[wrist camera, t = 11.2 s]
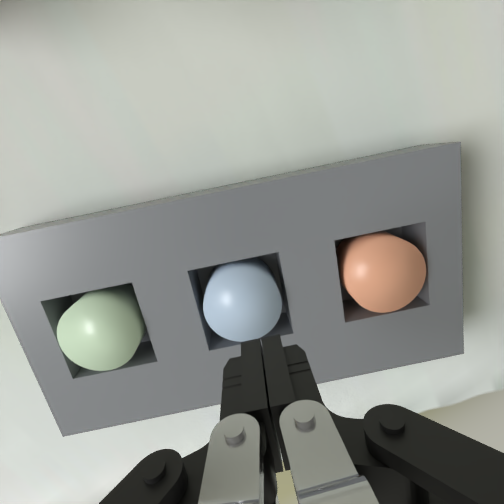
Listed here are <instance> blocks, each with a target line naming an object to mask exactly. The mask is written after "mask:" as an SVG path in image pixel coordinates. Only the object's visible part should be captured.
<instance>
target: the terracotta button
mask: <svg viewBox="0 0 504 504" xmlns="http://www.w3.org/2000/svg"><path fill="white" fill-rule="evenodd" d="M336 257H337V265H338V273H339V280H340V284H341V285H342V286H343V287H344V288H345V289H346V290H347V292H348V293H349V294H350V295H351V296H352V297H353V298H354V300H355V301H356V302H357V303H358V304H359V305H361V306H362V307H363V308H365V309H367V310H370V311H373V312H379V313H386V312H392V311H396V310H398V309H400V308H402V307H404V306H406V305H407V304H409V303H410V302H411V301H412V300H413V299H414V298H415V297H416V296H417V295H418V293H419V292H420V290H421V289H422V286H423V284H424V281H425V277H426V264H425V260H424V258H423V255H422V254H421V252H420V251H419V250H418V249H417V247H415V246H414V245H413V244H411V243H410V242H408V241H405V240H403V239H401V238H399V237H397V236H394V235H392V234H390V233H388V232H386V231H383V230H382V231H378V232H373V233H368V234H363V235H358V236H353V237H349V238H344V239H343V240H342V242H341V243H340V244H339V246H338V247H337V249H336Z"/></svg>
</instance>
